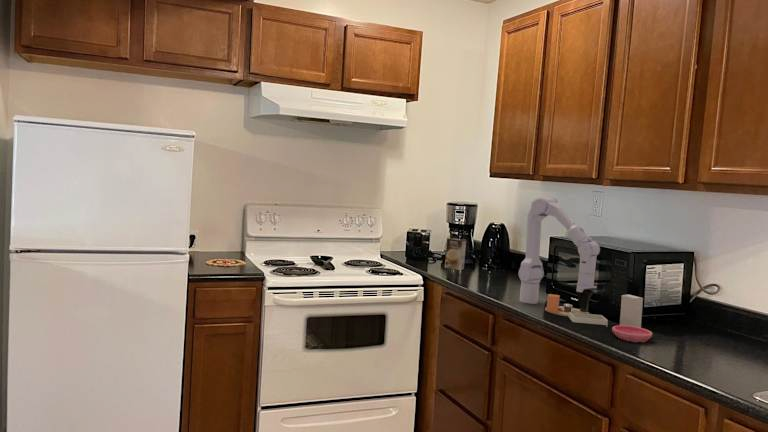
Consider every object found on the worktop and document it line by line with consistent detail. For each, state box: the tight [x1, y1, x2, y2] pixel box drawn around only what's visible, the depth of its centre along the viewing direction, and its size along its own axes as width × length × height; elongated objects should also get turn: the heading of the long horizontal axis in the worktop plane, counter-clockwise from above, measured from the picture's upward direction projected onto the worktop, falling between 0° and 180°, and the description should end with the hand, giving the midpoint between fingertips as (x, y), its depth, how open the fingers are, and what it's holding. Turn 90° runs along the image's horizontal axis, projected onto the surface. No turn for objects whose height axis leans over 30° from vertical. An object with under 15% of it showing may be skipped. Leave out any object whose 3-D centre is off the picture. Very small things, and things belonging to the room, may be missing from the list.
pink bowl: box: [611, 324, 653, 343], centre depth 197 cm, size 12×12×3 cm
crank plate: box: [544, 305, 591, 317], centre depth 228 cm, size 17×17×2 cm
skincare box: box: [619, 294, 644, 328], centre depth 209 cm, size 6×4×12 cm
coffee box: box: [444, 237, 467, 271], centre depth 318 cm, size 9×6×16 cm
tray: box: [567, 312, 609, 328], centre depth 215 cm, size 8×12×2 cm, turn 84°
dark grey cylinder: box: [558, 303, 589, 314], centre depth 228 cm, size 14×3×4 cm, turn 61°
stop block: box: [545, 293, 561, 313], centre depth 227 cm, size 4×4×6 cm
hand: (583, 308), depth 223 cm, fingers closed
